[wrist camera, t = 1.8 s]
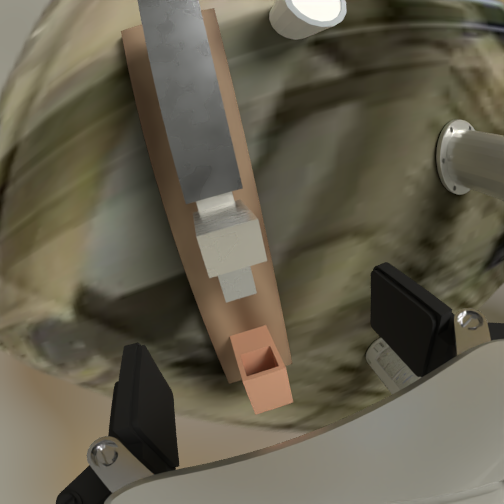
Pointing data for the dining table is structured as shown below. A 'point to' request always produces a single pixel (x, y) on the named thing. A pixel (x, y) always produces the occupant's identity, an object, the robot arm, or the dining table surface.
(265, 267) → the base board
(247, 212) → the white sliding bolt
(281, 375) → the socket
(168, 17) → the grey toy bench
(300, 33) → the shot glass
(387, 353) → the spray can
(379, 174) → the dining table surface
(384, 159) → the dining table surface
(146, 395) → the robot arm
